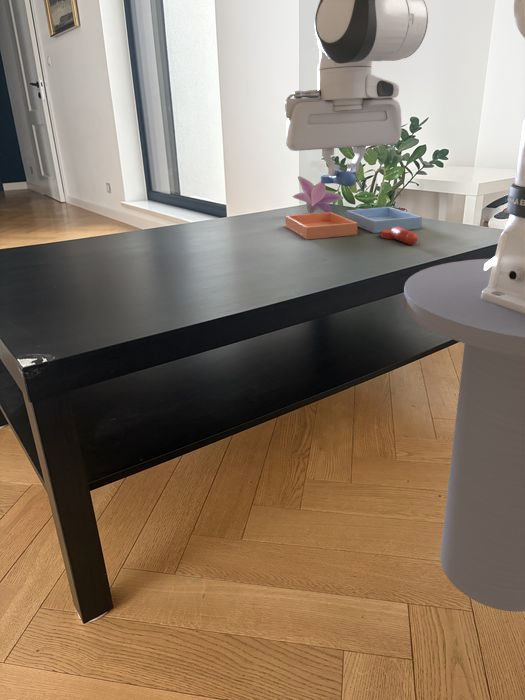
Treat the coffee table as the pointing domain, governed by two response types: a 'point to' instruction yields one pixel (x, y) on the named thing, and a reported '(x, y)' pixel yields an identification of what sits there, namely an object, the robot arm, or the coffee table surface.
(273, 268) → the coffee table surface
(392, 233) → the red spoon
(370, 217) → the blue tray
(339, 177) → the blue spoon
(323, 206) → the lily
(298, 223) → the orange tray
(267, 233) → the coffee table surface
